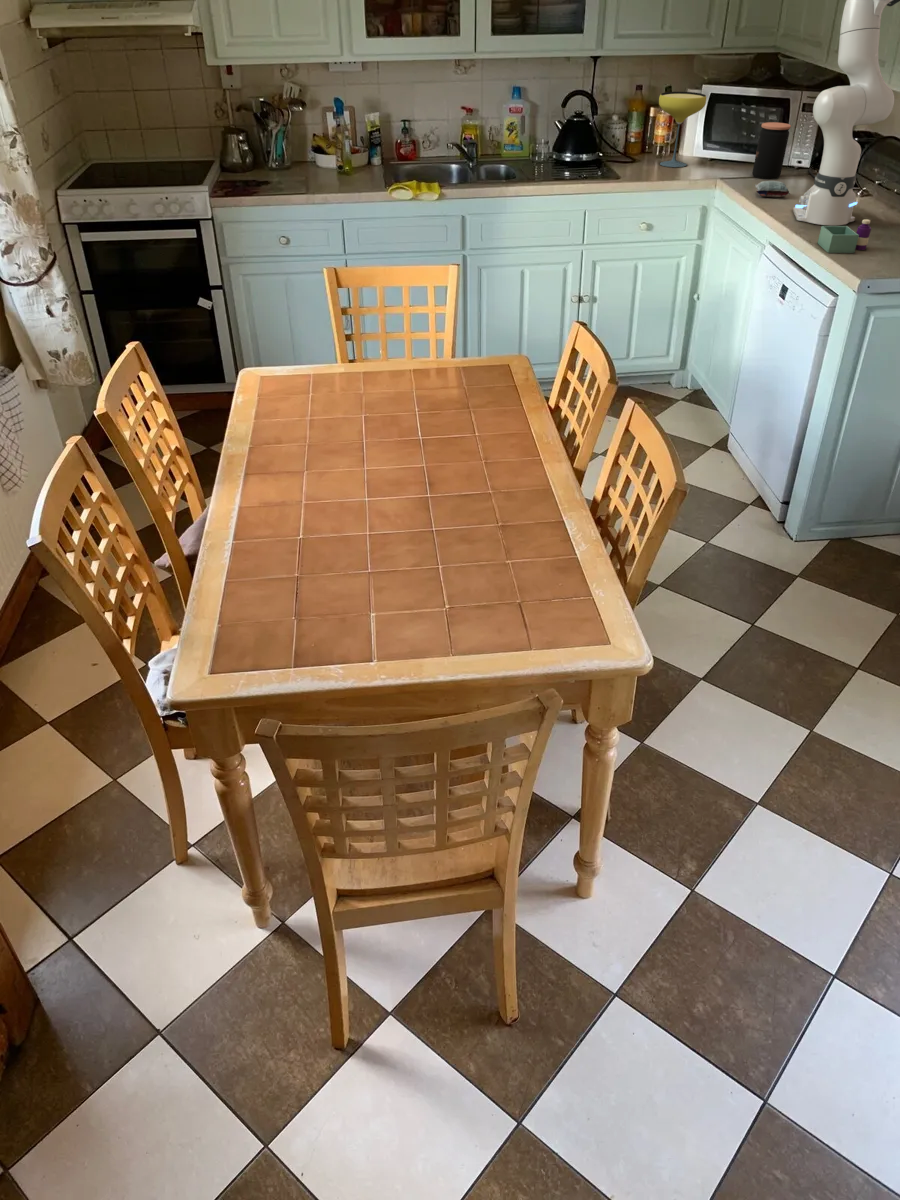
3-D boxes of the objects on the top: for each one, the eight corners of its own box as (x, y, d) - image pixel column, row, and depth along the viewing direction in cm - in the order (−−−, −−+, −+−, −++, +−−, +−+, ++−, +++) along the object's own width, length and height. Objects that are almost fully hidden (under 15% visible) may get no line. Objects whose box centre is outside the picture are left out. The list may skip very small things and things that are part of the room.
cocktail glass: (646, 167, 358) (655, 96, 342) (656, 158, 371) (665, 90, 356) (691, 171, 352) (702, 99, 337) (699, 162, 365) (710, 93, 350)
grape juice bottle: (850, 246, 269) (857, 218, 264) (863, 246, 269) (870, 218, 264) (854, 250, 266) (862, 222, 261) (867, 250, 266) (875, 222, 261)
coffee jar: (760, 172, 350) (770, 121, 339) (785, 176, 344) (796, 124, 333) (746, 176, 344) (756, 124, 333) (771, 180, 338) (782, 128, 327)
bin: (817, 243, 272) (821, 225, 269) (842, 243, 272) (847, 226, 268) (828, 252, 264) (832, 235, 261) (854, 252, 264) (859, 235, 261)
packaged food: (753, 192, 324) (756, 177, 321) (787, 193, 322) (790, 179, 319) (755, 198, 317) (757, 183, 314) (789, 199, 315) (792, 185, 312)
